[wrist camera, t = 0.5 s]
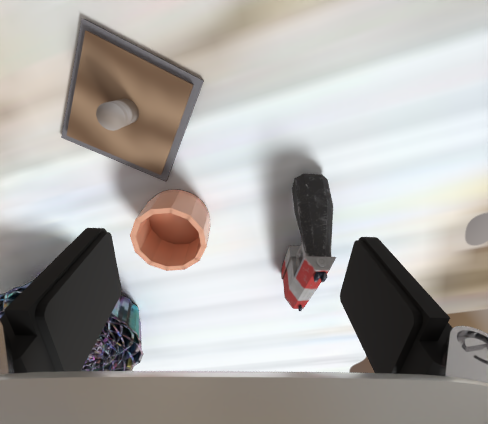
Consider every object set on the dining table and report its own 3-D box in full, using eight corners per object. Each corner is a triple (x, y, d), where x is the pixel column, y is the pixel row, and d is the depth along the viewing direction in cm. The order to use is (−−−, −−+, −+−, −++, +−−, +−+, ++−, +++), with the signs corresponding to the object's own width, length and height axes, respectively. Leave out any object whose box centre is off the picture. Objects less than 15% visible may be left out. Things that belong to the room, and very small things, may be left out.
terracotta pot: (157, 178, 43) (143, 196, 37) (219, 205, 46) (216, 225, 39) (138, 231, 48) (123, 255, 42) (196, 253, 50) (190, 278, 44)
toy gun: (276, 244, 58) (282, 315, 49) (296, 173, 41) (310, 262, 32) (300, 245, 59) (310, 316, 50) (329, 174, 41) (352, 263, 32)
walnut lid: (88, 31, 34) (57, 22, 28) (193, 84, 37) (185, 86, 31) (69, 134, 39) (40, 144, 34) (161, 173, 42) (149, 188, 37)
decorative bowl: (52, 228, 50) (6, 259, 41) (178, 302, 56) (163, 343, 47) (10, 309, 59) (-36, 349, 50) (122, 365, 65) (100, 410, 56)
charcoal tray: (84, 19, 34) (81, 18, 33) (203, 80, 37) (203, 80, 36) (63, 136, 40) (61, 137, 40) (166, 180, 43) (166, 181, 43)
